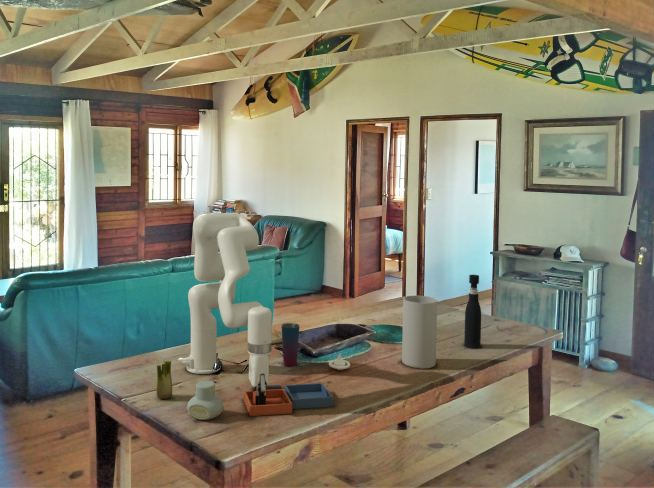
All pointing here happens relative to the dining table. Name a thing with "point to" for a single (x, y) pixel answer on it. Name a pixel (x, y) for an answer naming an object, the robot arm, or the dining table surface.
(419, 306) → the cylinder vase
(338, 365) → the ring around a ball
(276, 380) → the dining table surface
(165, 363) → the fennel bulb
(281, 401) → the orange toy mallet
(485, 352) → the dining table surface
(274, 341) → the jawbone
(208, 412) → the air freshener
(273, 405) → the terracotta bin
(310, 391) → the slate bin
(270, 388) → the blue handled cylinder
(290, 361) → the cup
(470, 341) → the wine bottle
